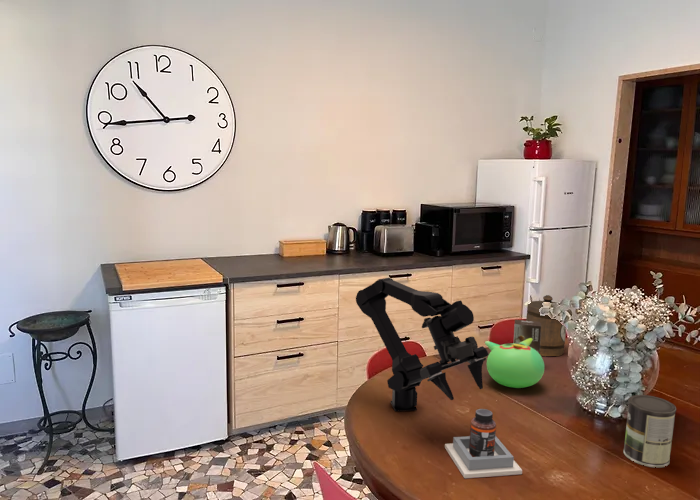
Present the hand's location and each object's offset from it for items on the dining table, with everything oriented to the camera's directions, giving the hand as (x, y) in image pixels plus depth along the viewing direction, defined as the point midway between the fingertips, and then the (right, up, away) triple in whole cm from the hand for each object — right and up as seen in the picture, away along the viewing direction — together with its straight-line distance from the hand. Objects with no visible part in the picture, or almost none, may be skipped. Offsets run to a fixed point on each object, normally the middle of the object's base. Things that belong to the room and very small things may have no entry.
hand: (467, 394), depth 144 cm
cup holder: (+2, -14, -9) cm, 17 cm away
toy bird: (+23, -7, +37) cm, 44 cm away
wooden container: (+45, -2, +72) cm, 85 cm away
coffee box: (+32, -4, +55) cm, 64 cm away
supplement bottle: (+1, -13, -9) cm, 16 cm away
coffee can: (+43, -14, -6) cm, 46 cm away
